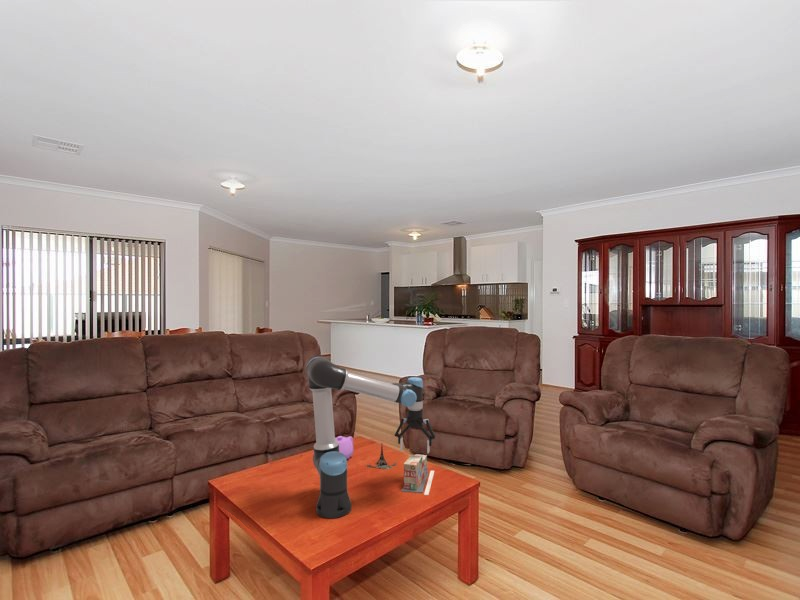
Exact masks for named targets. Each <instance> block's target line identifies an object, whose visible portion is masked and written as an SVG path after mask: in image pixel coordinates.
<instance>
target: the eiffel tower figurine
mask: <svg viewBox="0 0 800 600" xmlns="http://www.w3.org/2000/svg"><path fill="white" fill-rule="evenodd" d="M380 447H381V448H380V455H379V458H378V460H377V461H376V462H375V465H376V466H374V465H372V464H367V465H366V466H365V467H367V468H373V469H381V470H390V469H392V468H393V467H395V466H396V465H397V462H395V463H393V464H391V465H389V464H388V463H387V461H386V459H385V455H384V449H383V442H381V446H380Z"/></svg>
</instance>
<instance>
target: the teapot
mask: <svg viewBox="0 0 800 600" xmlns="http://www.w3.org/2000/svg"><path fill="white" fill-rule="evenodd" d="M335 440H336V441H338V443H339V453H343V454H344V455H345V456H346V459H347V460H349V459H351V457H352V456H353V454H354V438H353V436H351V435H349V436H347V437H346V436H342V435H339V436H337V437H335Z"/></svg>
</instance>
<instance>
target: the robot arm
mask: <svg viewBox="0 0 800 600" xmlns="http://www.w3.org/2000/svg"><path fill="white" fill-rule="evenodd" d="M305 373H306V375H307V382H308V383H307V384H308V389H309V390H310V391H311V392H312V403H313V415H314V426H315V427H314V428H315V429H314V431H315V441H316V442H315V443H314V444H313V456H312V463H313V465H314V467H315V469H316V472H317V473H318V475H319V497H318V499H317V501H316V502H317V503H316V506H315V511H316V512H315V513H316V514H317V515H318V516H319V517H322V518H324V519H337V518H342V517H344V516H346V515H348V514H349V513H351V510H352V500H351V498H350V496H349V493H348V459H346V456H345V455H344V454H343V453H339V443H338V441H336V440H335V438H336V436H335V423H334V422H335V421H334V408H333V407H334V406H333V396H332V389H333V390H337V391H342V390H347V391H351V392H354V393H358V394H360V395H362V394H363V395H366V396H369V397H373V398H378V399H381V400H386V401H389V402H393V403H396V404H400V405H402V406H404V407H407V417H406V418H405V417H403V416H402V417H401V419H400V423H399V425H398V427H397V430H396V431H395V434H394V437H396V438H398V439H397V443H398V445H400V446H399V451H400V452H402V451H403V445H404V444H403V443H404V438H403V435H404V434H405V433H406V432H407V431H408V430H409V429H410V428H411V429H414V428H415V429H418V428H419V429H420V430H421V431H422V433H423V434H424V435H425V436H426V438H427V440H426V441H427V442H426V443H427V445H426V446H427V448H426V449H427V450H426V451H427V452H426V453H427V454H429V453H430V447H432V445H433V444H432V443H433V442H432V441H433V440H434V439H436V434H435V432H434V430H433V428H432V426H431V423H430V419H429V418H426V419H424V417H423V415H424V414H423V411H424V410H423V406H424V405H423V400H424V399H423V395H424V394H423V391H424V383H423V382H424V381H423V379H422V378H421V377H414V376H413V377H408V378H407V381H406V382H393V383H388V382H386V381H381V380H378V379H375V378H370V377H367V376H364V375H360V374H357V373H353V372H349V371H348V370H347V368H343V367H342V366H341V367H340V366H339V365H336V364H335V363H333V362H332V361H330V360H329V359H328V358H327V357H323V356H316V357H313V358H311V359H310V360H309V361H308V362H307V365H306V367H305ZM404 423H407V425H406V426H405V428H404V429H402V426H403V425H404ZM423 423H424V424H425V425H426V427H425V426H424V424H423ZM426 428H427V429H428V430H427V429H426ZM401 429H402V431H401V432H400V430H401ZM399 432H400V433H399Z"/></svg>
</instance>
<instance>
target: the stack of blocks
mask: <svg viewBox="0 0 800 600" xmlns="http://www.w3.org/2000/svg"><path fill="white" fill-rule="evenodd" d="M427 472H428V455H427V454H426V455H425V454H410V455H409V457H408V458H407V459H406V460H405V462H404V463H403V486H404V489H409V490H417V488H418V487H419V485H420V484H421V482H422V480H423V478H424V477H425V475H426V474H427Z"/></svg>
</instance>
